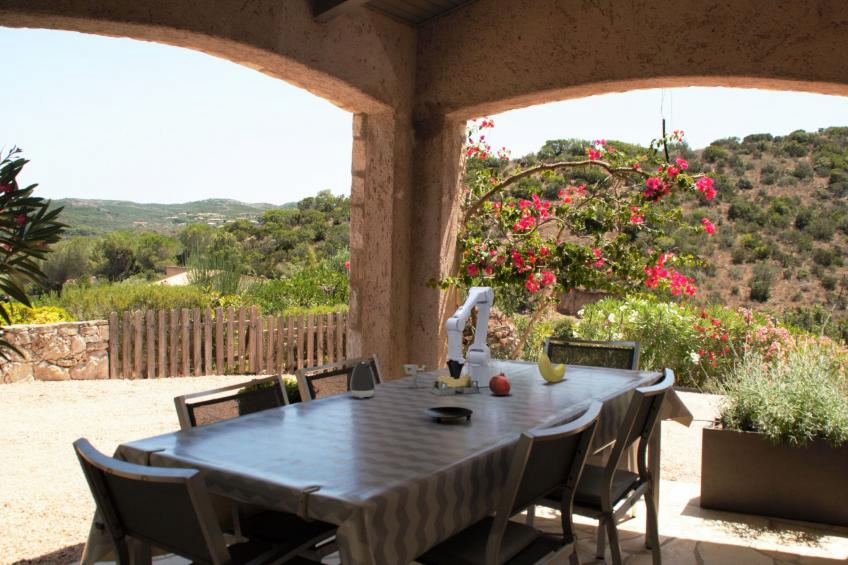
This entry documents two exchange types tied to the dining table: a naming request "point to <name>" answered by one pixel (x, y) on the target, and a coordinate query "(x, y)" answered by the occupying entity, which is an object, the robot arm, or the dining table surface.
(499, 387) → the fruit
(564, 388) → the dining table surface
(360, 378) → the dark grey speaker
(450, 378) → the master link
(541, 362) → the banana
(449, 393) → the chain end
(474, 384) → the chain end
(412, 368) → the mechanical component
